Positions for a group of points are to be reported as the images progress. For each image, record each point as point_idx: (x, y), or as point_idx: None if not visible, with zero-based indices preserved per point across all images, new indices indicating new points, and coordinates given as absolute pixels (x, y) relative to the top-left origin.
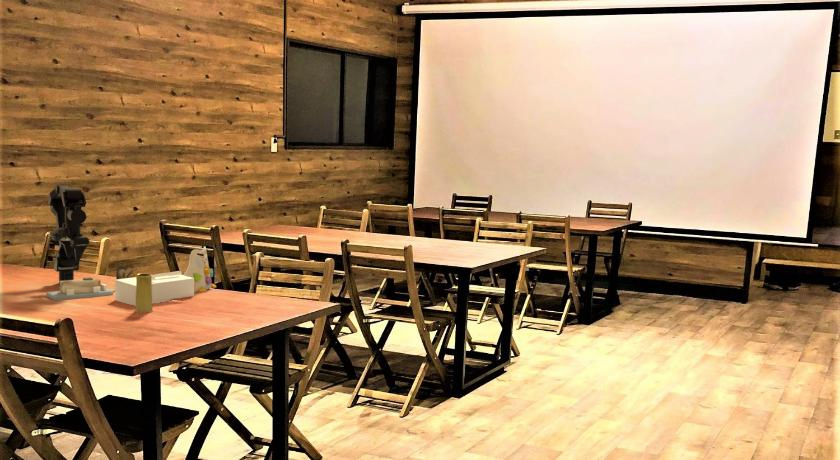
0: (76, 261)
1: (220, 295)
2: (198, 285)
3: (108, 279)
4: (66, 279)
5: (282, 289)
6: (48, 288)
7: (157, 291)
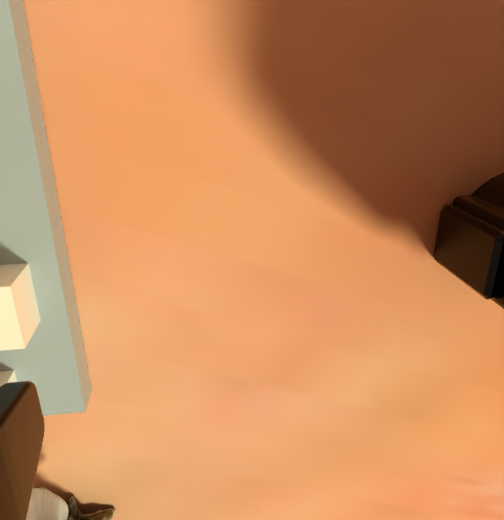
0: (8, 383)
1: None
2: None
3: (452, 497)
4: (475, 222)
5: None
6: (419, 4)
7: None
